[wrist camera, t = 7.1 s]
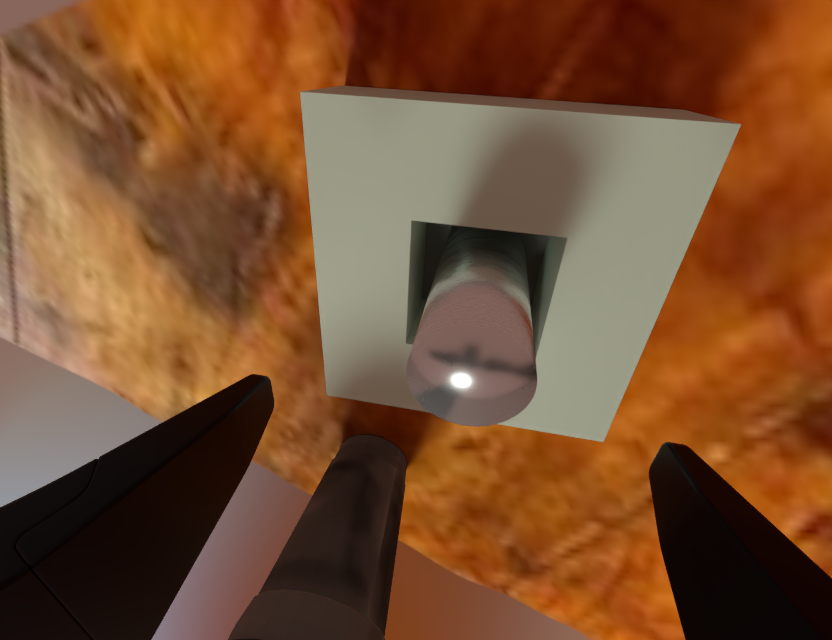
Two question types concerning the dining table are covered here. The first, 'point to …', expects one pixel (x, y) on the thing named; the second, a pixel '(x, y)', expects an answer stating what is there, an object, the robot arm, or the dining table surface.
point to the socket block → (508, 211)
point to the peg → (476, 332)
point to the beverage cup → (337, 553)
